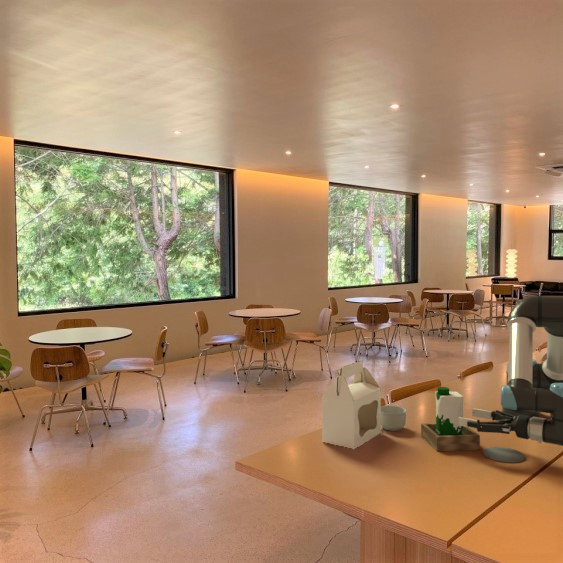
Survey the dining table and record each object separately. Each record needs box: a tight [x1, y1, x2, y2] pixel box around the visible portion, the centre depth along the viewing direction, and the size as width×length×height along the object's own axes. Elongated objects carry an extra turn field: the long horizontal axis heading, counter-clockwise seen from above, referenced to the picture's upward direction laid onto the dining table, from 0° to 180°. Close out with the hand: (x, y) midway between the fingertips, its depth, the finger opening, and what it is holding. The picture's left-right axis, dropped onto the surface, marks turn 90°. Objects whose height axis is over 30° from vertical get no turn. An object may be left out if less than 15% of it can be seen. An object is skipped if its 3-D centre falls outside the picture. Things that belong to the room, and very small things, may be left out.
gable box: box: [321, 360, 382, 450], centre depth 194 cm, size 22×13×28 cm, turn 144°
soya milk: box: [435, 386, 464, 436], centre depth 187 cm, size 9×9×20 cm
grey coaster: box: [482, 446, 526, 464], centre depth 175 cm, size 13×13×1 cm
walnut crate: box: [420, 422, 481, 452], centre depth 188 cm, size 15×15×5 cm
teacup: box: [381, 404, 407, 432], centre depth 205 cm, size 14×11×8 cm
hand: (465, 416), depth 183 cm, fingers open, 13 cm apart
